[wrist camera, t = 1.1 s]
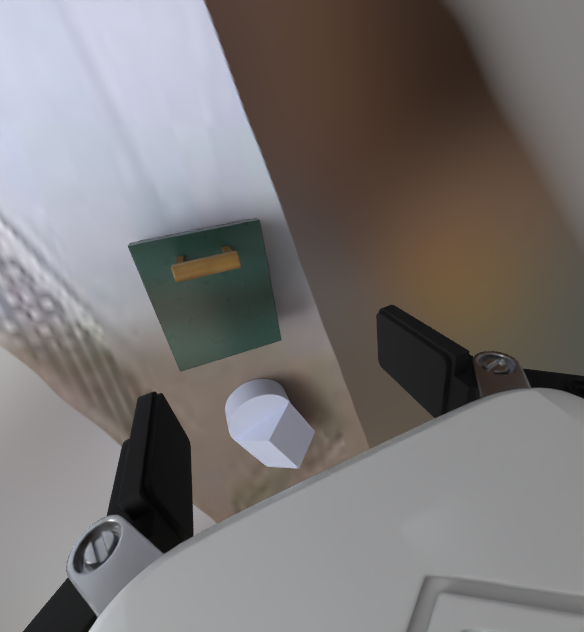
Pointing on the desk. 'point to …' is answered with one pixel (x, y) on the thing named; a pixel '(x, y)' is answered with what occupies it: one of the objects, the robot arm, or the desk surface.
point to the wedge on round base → (268, 424)
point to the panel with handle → (210, 291)
